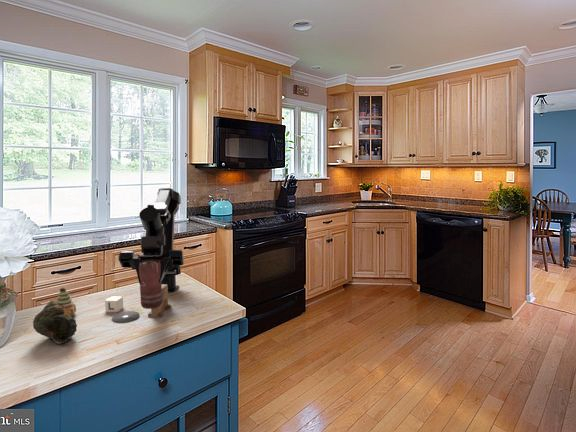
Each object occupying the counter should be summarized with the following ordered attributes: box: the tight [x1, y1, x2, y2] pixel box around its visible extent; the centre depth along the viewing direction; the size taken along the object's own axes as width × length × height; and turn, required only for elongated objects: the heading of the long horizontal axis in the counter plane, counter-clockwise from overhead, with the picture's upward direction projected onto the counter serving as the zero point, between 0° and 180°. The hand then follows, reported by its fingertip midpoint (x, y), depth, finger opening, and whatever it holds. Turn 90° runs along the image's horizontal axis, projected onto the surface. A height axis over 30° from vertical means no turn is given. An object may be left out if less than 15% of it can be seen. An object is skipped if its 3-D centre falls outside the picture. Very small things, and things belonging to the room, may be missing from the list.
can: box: [139, 259, 162, 310], centre depth 112 cm, size 6×6×14 cm
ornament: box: [50, 287, 77, 319], centre depth 117 cm, size 8×6×10 cm
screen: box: [147, 284, 173, 318], centre depth 123 cm, size 9×4×8 cm, turn 176°
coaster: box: [111, 310, 140, 324], centre depth 118 cm, size 8×8×1 cm
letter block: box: [104, 295, 124, 313], centre depth 124 cm, size 4×4×4 cm
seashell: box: [32, 299, 78, 345], centre depth 101 cm, size 11×11×10 cm
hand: (149, 283), depth 111 cm, fingers closed on can, 5 cm apart
